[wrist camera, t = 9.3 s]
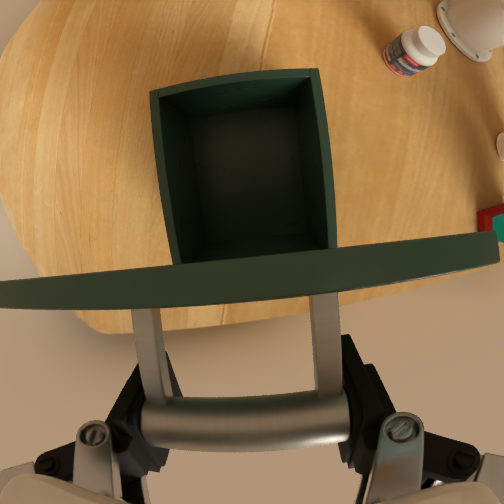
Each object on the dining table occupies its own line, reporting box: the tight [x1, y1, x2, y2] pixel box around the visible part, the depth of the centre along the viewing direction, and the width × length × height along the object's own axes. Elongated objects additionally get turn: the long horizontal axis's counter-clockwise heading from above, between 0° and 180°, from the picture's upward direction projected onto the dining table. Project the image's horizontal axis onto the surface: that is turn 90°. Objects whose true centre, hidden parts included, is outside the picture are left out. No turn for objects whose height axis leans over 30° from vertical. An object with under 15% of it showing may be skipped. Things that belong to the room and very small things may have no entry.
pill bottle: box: [383, 25, 446, 77], centre depth 22 cm, size 5×5×9 cm
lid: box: [0, 230, 500, 452], centre depth 13 cm, size 17×14×6 cm
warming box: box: [149, 68, 337, 265], centre depth 26 cm, size 17×14×12 cm
